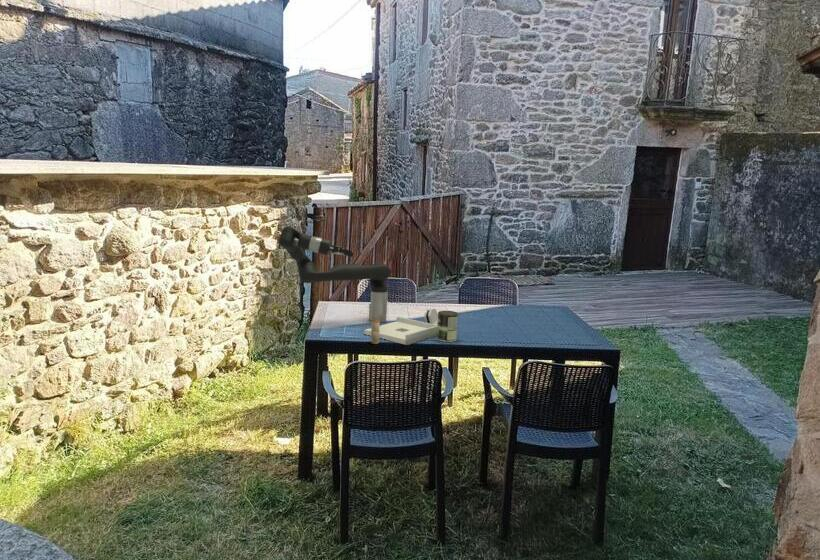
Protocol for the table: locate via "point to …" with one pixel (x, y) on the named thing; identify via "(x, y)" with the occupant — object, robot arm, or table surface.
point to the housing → (406, 331)
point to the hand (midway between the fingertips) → (352, 254)
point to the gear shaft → (375, 330)
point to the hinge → (431, 316)
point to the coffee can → (447, 326)
